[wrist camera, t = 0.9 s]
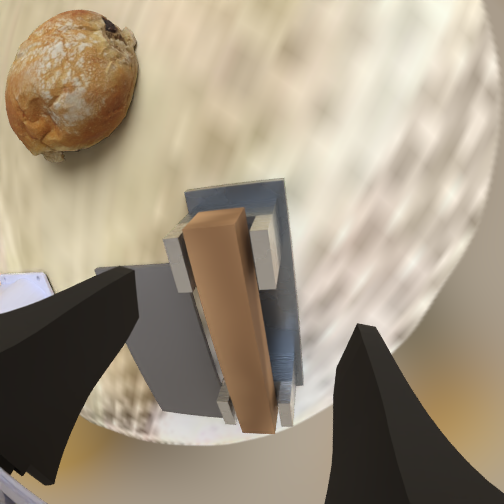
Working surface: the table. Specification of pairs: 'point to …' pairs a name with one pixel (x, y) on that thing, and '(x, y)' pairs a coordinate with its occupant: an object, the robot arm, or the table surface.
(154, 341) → the mat
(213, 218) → the rail
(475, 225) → the table surface
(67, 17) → the bread roll
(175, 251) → the stand
